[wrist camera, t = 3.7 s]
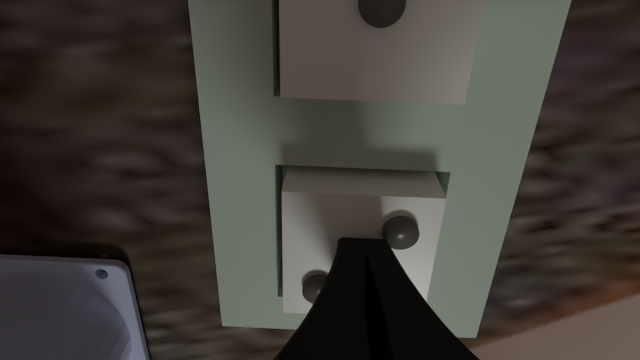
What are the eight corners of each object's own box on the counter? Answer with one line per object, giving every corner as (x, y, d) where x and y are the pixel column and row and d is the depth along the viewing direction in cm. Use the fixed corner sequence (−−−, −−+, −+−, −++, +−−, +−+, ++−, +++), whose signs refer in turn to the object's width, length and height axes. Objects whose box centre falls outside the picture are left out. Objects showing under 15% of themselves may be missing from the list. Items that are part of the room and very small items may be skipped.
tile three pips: (289, 270, 15) (282, 317, 14) (288, 159, 13) (280, 195, 11) (412, 276, 15) (424, 323, 13) (431, 165, 13) (448, 202, 11)
